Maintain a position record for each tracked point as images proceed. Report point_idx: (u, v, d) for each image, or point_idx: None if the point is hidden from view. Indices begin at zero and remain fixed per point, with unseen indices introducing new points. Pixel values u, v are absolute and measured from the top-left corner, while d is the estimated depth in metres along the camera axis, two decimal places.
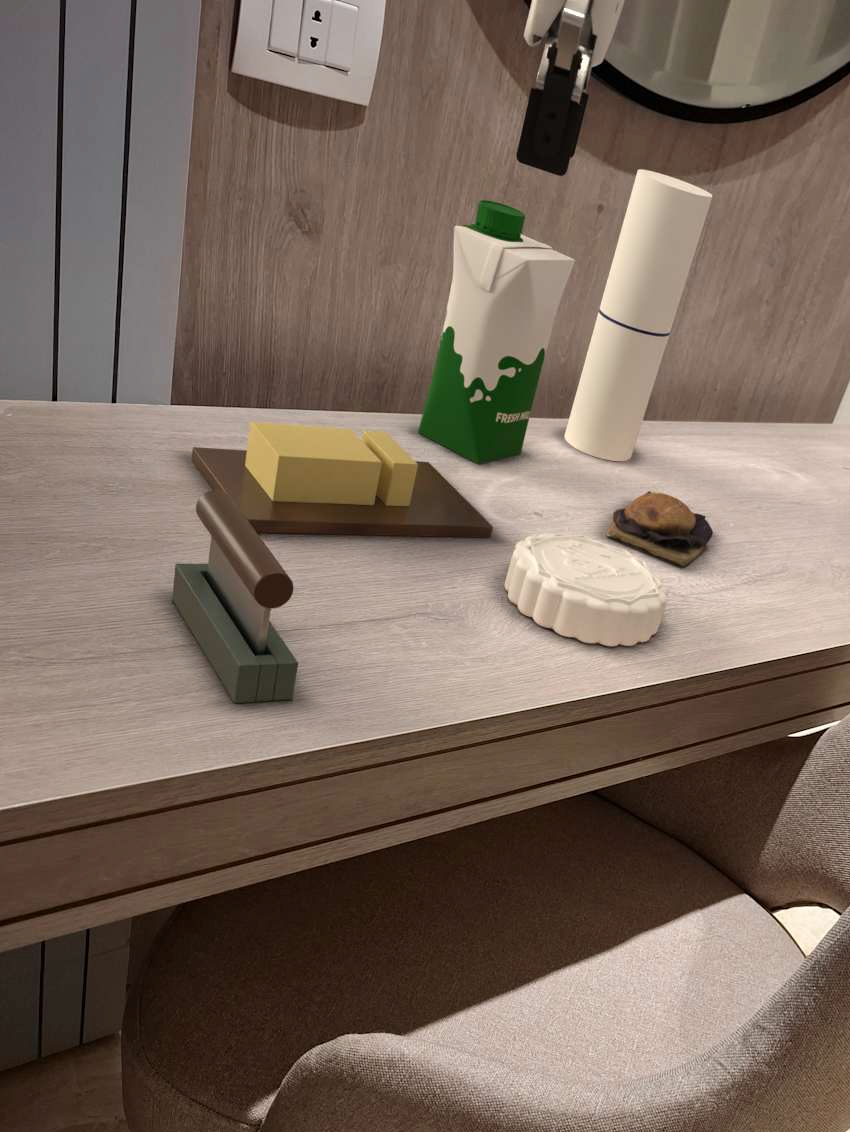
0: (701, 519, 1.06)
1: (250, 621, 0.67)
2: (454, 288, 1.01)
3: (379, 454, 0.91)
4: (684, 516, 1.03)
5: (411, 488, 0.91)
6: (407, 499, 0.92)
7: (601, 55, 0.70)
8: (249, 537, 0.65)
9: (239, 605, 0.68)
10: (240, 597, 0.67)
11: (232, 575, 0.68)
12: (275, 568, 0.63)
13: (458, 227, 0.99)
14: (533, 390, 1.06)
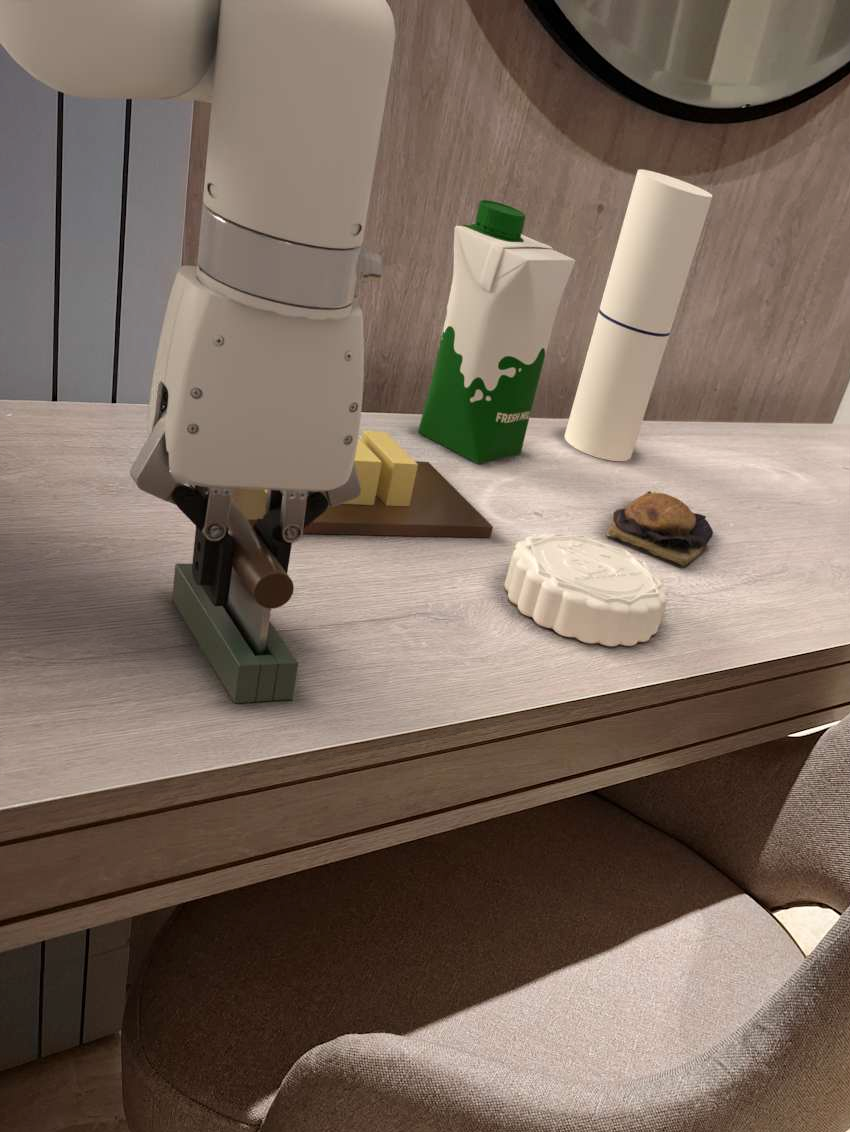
0: (701, 519, 1.06)
1: (250, 621, 0.67)
2: (455, 288, 1.01)
3: (379, 454, 0.91)
4: (685, 516, 1.03)
5: (411, 488, 0.91)
6: (407, 499, 0.92)
7: (182, 474, 0.60)
8: (249, 537, 0.65)
9: (239, 605, 0.68)
10: (240, 597, 0.67)
11: (232, 575, 0.68)
12: (275, 568, 0.63)
13: (458, 227, 0.99)
14: (533, 390, 1.06)
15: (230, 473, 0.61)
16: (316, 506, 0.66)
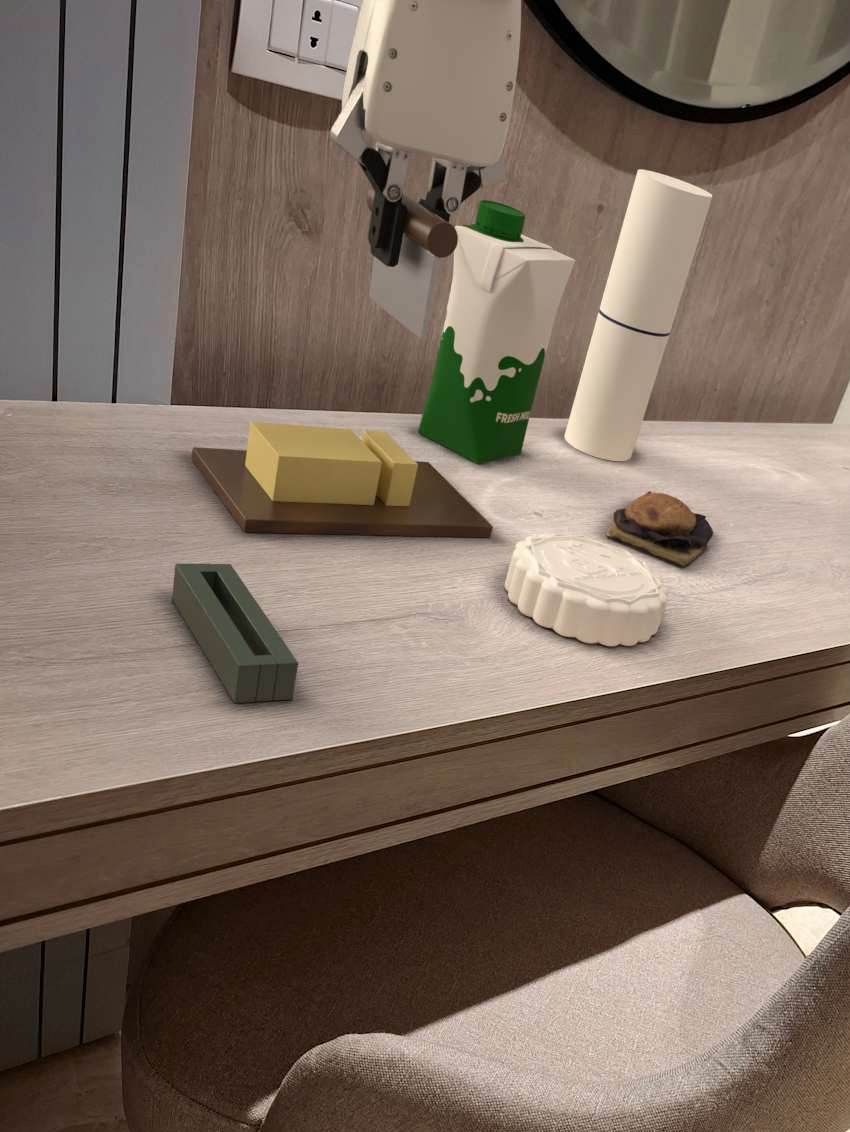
0: (701, 519, 1.06)
1: (418, 279, 0.80)
2: (455, 288, 1.01)
3: (379, 454, 0.91)
4: (685, 516, 1.03)
5: (411, 488, 0.91)
6: (407, 499, 0.92)
7: (375, 130, 0.74)
8: (418, 205, 0.79)
9: (407, 271, 0.81)
10: (408, 263, 0.81)
11: None
12: (444, 220, 0.77)
13: (458, 227, 0.99)
14: (533, 390, 1.06)
15: (411, 134, 0.75)
16: (471, 183, 0.80)
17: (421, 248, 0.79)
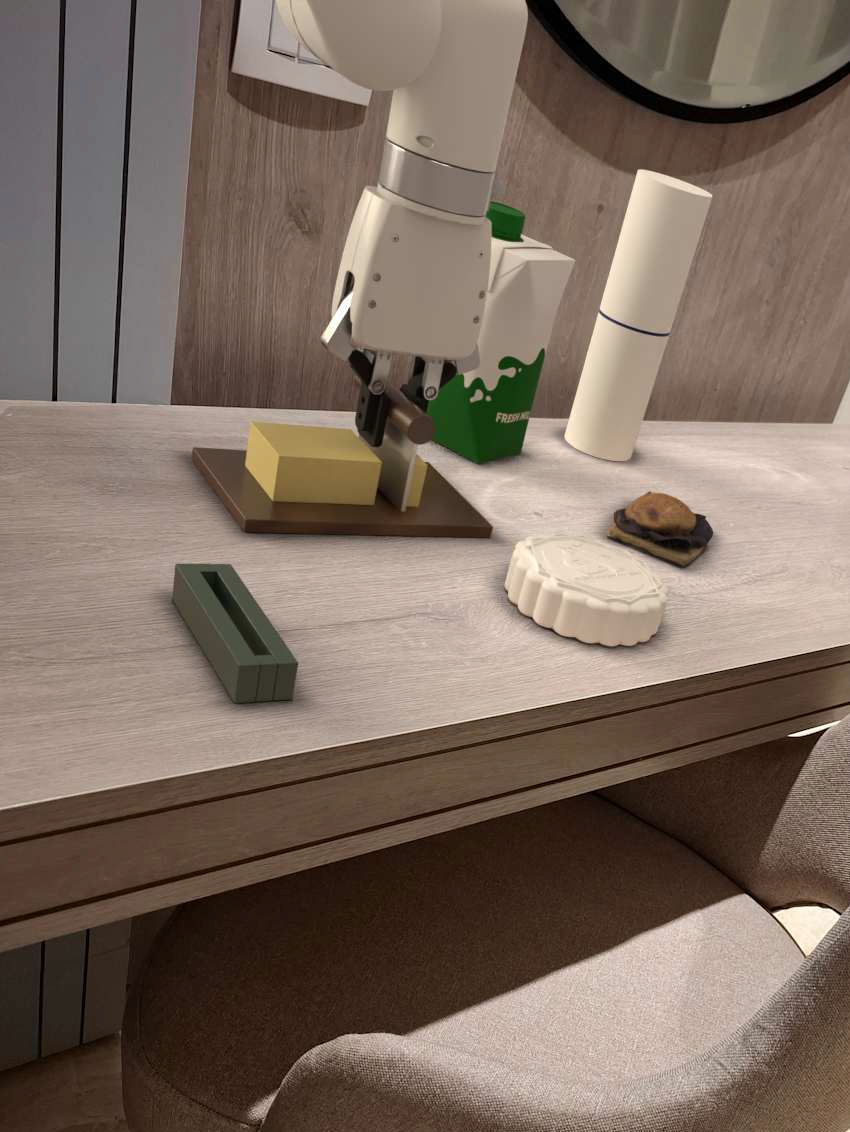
0: (701, 519, 1.06)
1: (399, 459, 0.89)
2: None
3: None
4: (685, 516, 1.03)
5: (420, 488, 0.92)
6: (417, 499, 0.92)
7: (361, 339, 0.83)
8: (400, 395, 0.88)
9: (389, 449, 0.90)
10: (390, 443, 0.90)
11: None
12: (423, 413, 0.86)
13: None
14: (533, 390, 1.06)
15: (393, 340, 0.84)
16: (448, 373, 0.89)
17: (402, 433, 0.88)
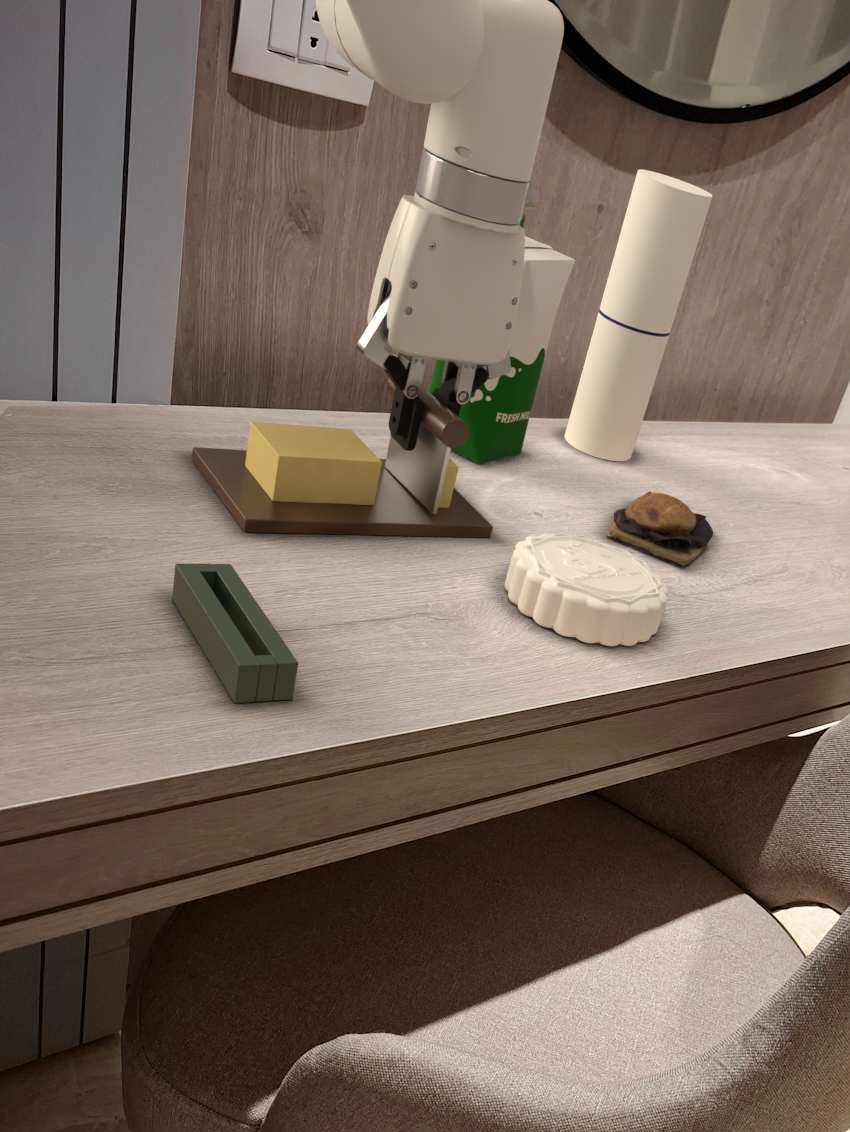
0: (701, 519, 1.06)
1: (432, 462, 0.91)
2: None
3: None
4: (685, 516, 1.03)
5: (451, 490, 0.93)
6: (448, 500, 0.94)
7: (397, 345, 0.85)
8: (433, 399, 0.90)
9: (422, 453, 0.92)
10: (423, 446, 0.92)
11: None
12: (457, 417, 0.88)
13: None
14: (533, 390, 1.06)
15: (428, 346, 0.86)
16: (480, 377, 0.91)
17: (435, 437, 0.90)
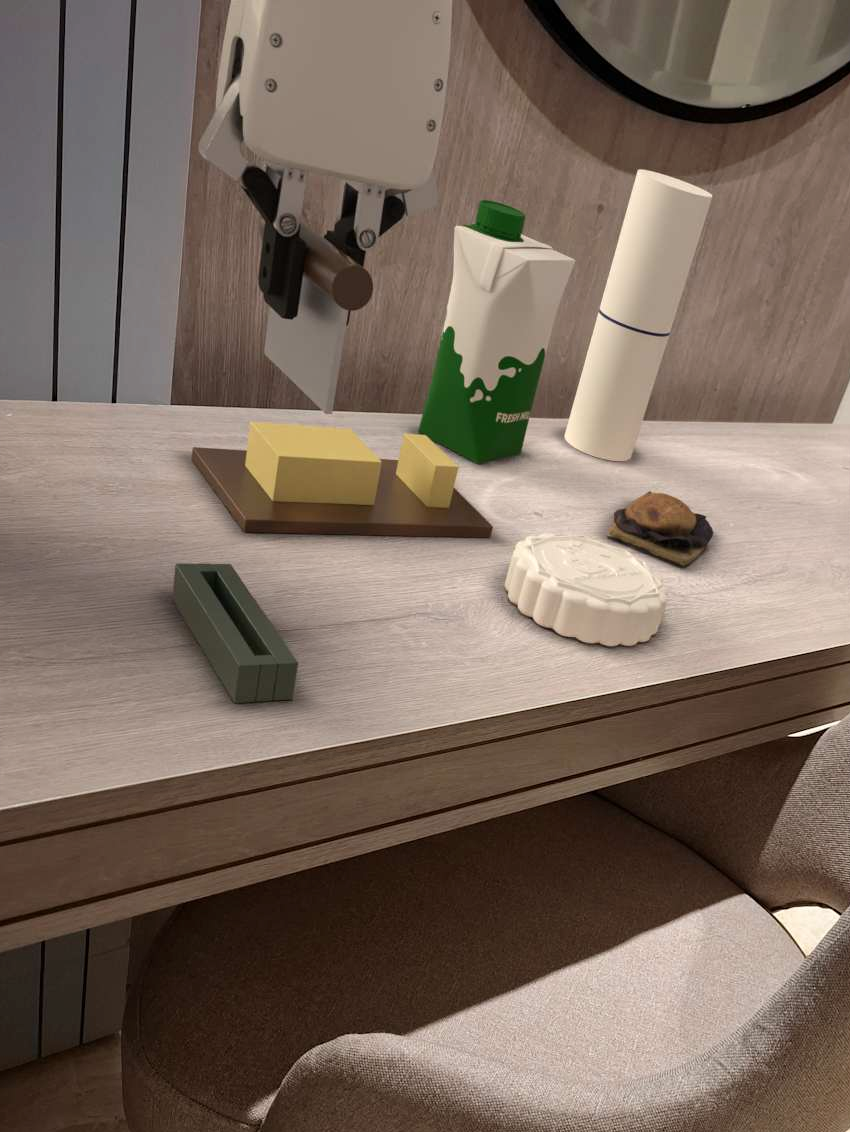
0: (702, 519, 1.06)
1: (323, 336, 0.62)
2: (455, 288, 1.01)
3: (420, 456, 0.93)
4: (685, 516, 1.03)
5: (451, 490, 0.93)
6: (448, 500, 0.94)
7: (257, 143, 0.55)
8: (323, 240, 0.61)
9: (309, 324, 0.63)
10: (311, 314, 0.62)
11: (300, 294, 0.63)
12: (355, 262, 0.59)
13: (458, 227, 0.99)
14: (533, 390, 1.06)
15: (307, 148, 0.57)
16: (392, 211, 0.62)
17: (326, 297, 0.61)
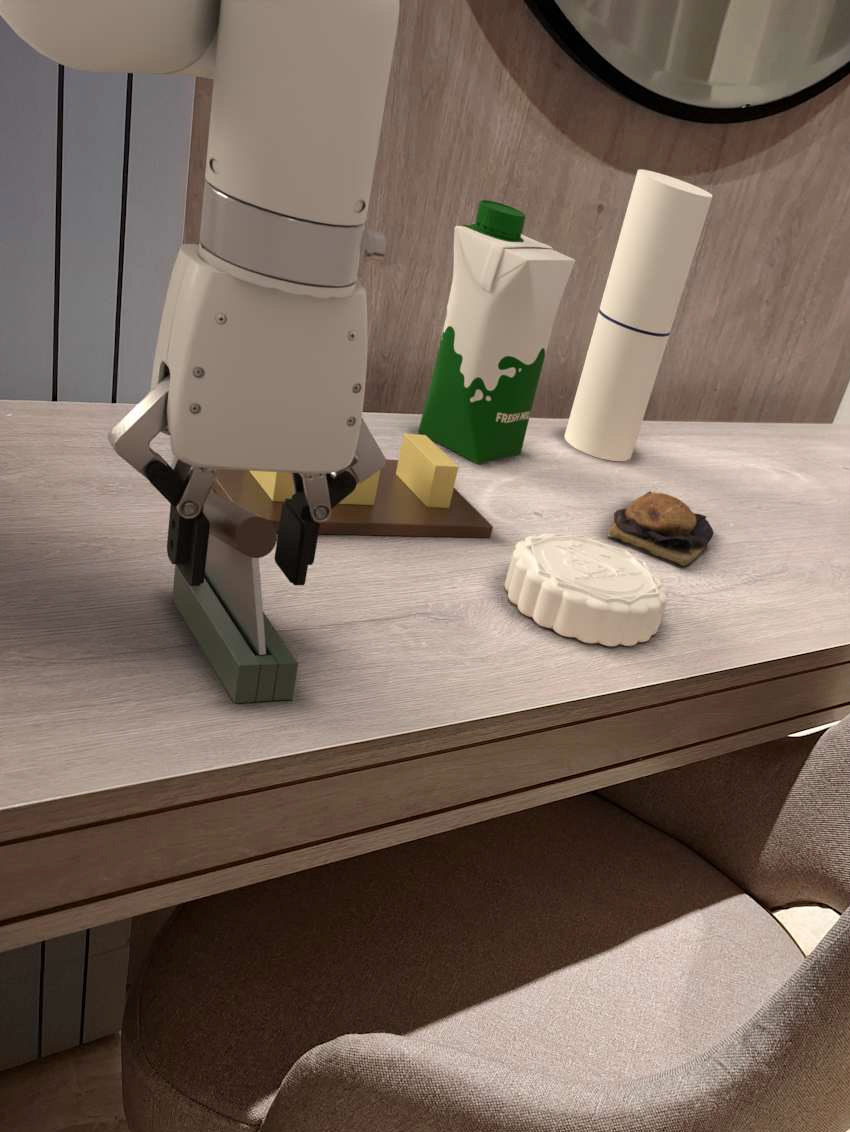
0: (702, 519, 1.06)
1: (244, 587, 0.65)
2: (455, 288, 1.01)
3: (420, 456, 0.93)
4: (685, 516, 1.03)
5: (451, 490, 0.93)
6: (448, 500, 0.94)
7: (184, 455, 0.60)
8: (228, 504, 0.65)
9: (233, 580, 0.67)
10: (233, 571, 0.67)
11: (222, 555, 0.68)
12: (254, 515, 0.63)
13: (458, 227, 0.99)
14: (533, 390, 1.06)
15: (232, 454, 0.61)
16: (345, 486, 0.67)
17: (239, 551, 0.65)
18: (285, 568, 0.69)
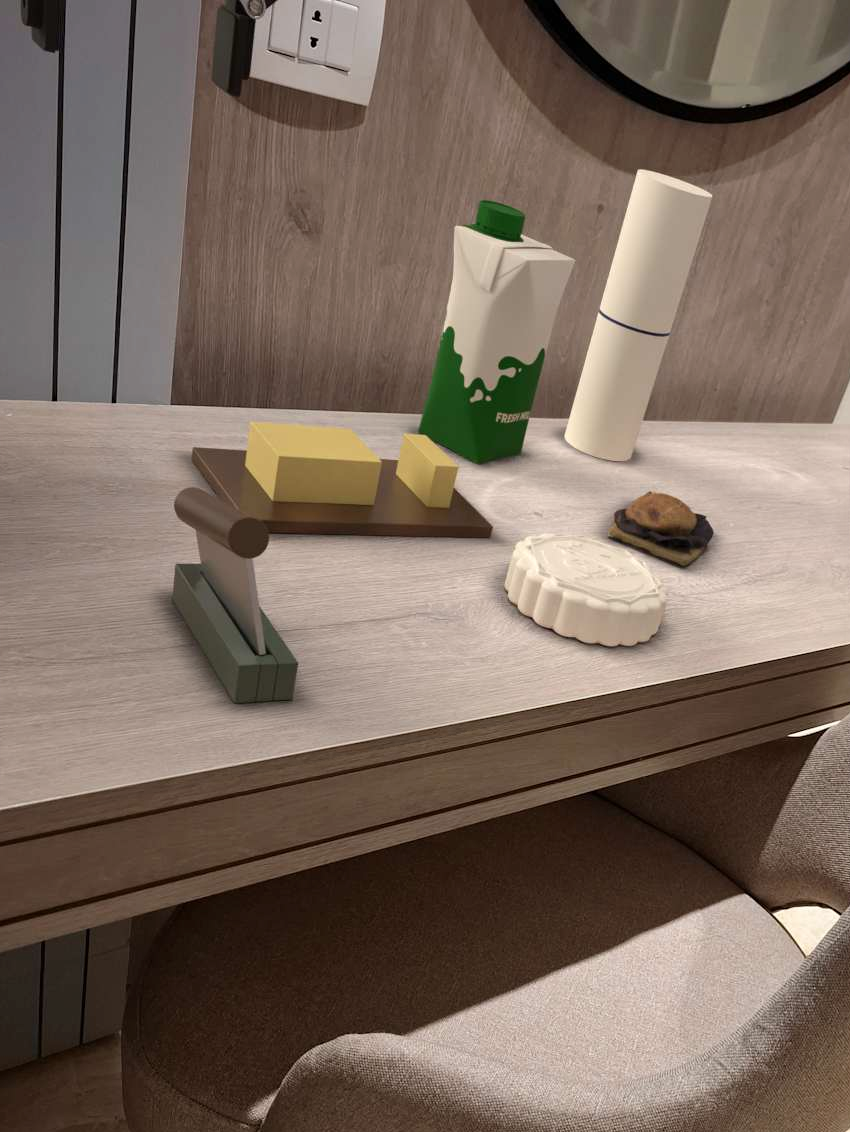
0: (702, 519, 1.06)
1: (240, 587, 0.65)
2: (455, 288, 1.01)
3: (420, 456, 0.93)
4: (685, 516, 1.03)
5: (451, 490, 0.93)
6: (448, 500, 0.94)
7: None
8: (220, 504, 0.65)
9: (230, 580, 0.67)
10: (228, 571, 0.67)
11: (218, 556, 0.67)
12: (245, 515, 0.62)
13: (458, 227, 0.99)
14: (533, 390, 1.06)
15: None
16: None
17: (233, 552, 0.65)
18: (221, 80, 0.68)
